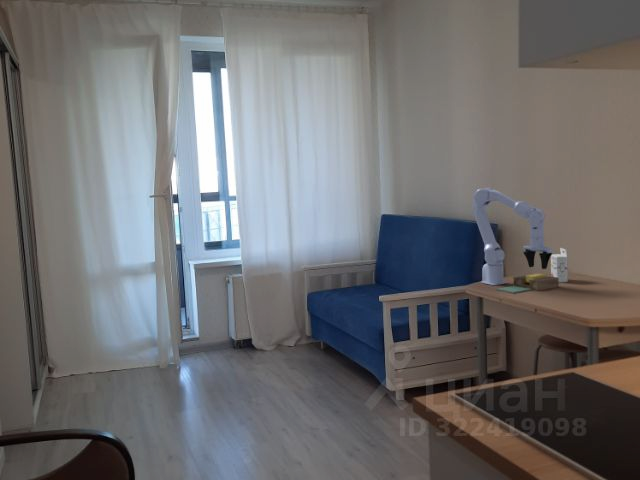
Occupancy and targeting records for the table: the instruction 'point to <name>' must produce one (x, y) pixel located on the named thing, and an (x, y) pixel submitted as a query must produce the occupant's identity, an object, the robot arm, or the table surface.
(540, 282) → the pocket board
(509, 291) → the mat
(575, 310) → the table surface
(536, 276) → the slab
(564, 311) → the table surface
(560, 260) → the ink cartridge box
